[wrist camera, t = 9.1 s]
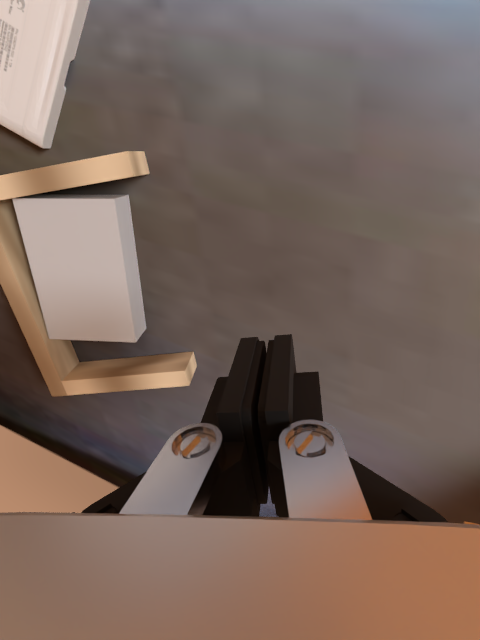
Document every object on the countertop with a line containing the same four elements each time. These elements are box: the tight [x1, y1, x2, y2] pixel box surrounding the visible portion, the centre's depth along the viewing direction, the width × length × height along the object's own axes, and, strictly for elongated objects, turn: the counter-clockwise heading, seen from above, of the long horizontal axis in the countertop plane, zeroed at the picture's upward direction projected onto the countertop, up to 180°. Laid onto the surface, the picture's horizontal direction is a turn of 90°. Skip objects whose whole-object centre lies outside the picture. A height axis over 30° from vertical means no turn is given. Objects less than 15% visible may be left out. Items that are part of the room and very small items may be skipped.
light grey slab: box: [12, 195, 146, 342], centre depth 23 cm, size 6×9×2 cm, turn 0°
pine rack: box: [0, 151, 197, 397], centre depth 23 cm, size 10×14×2 cm
